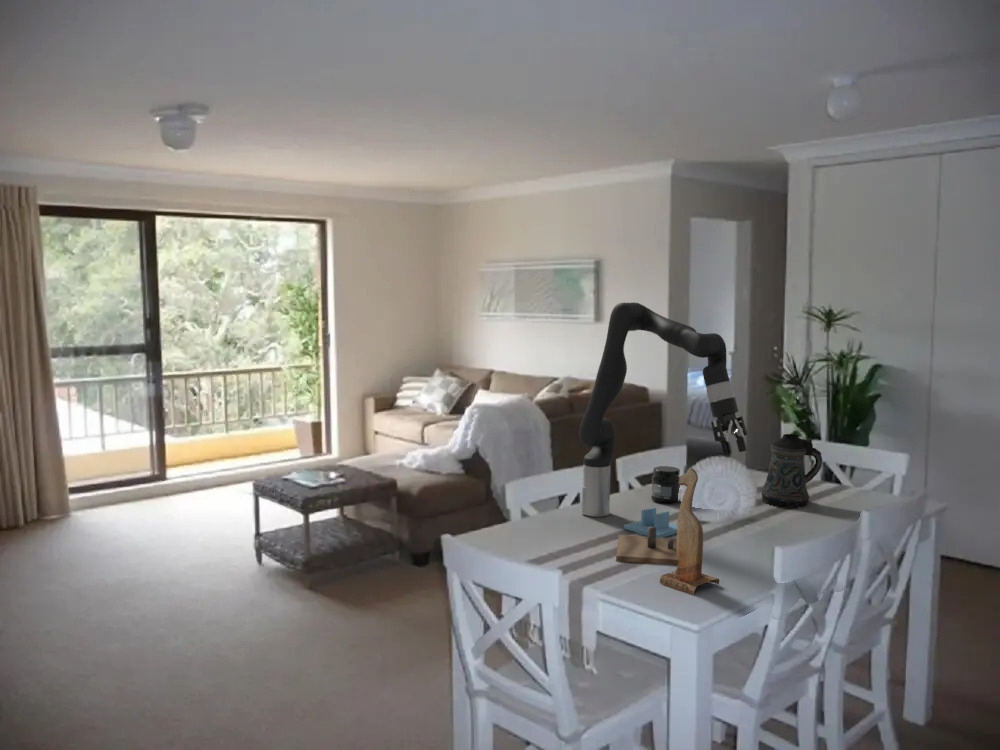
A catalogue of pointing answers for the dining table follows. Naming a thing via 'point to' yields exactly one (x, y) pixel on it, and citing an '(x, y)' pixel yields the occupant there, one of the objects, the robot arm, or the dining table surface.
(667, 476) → the supplement container
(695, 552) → the bird sculpture
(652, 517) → the flange plate
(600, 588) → the dining table surface
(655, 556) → the post board
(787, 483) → the beer stein
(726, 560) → the dining table surface
